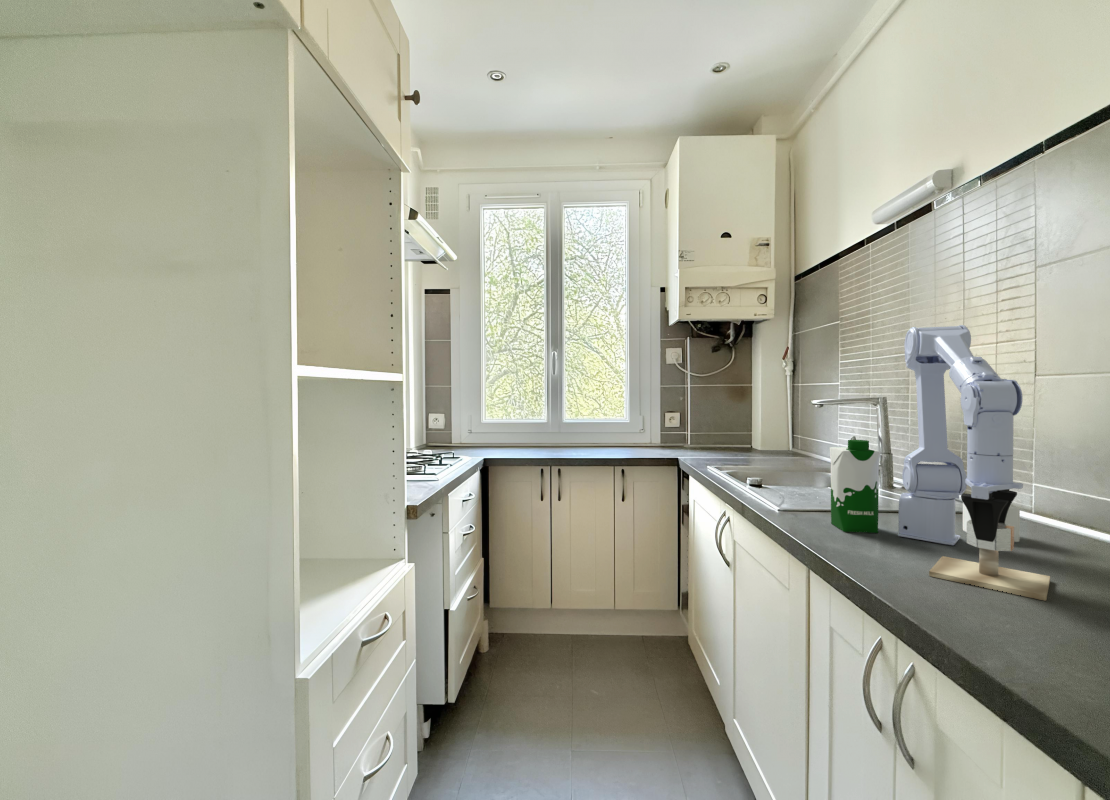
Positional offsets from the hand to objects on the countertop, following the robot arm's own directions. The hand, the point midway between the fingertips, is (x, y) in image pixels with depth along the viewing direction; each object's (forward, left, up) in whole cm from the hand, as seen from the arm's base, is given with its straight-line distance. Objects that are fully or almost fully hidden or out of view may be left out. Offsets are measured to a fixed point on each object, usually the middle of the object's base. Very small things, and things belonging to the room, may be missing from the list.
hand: (988, 536), depth 83 cm
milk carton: (-25, +18, -7) cm, 32 cm away
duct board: (0, 0, -7) cm, 7 cm away
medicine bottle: (-3, +31, -7) cm, 32 cm away
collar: (0, 0, -1) cm, 1 cm away
